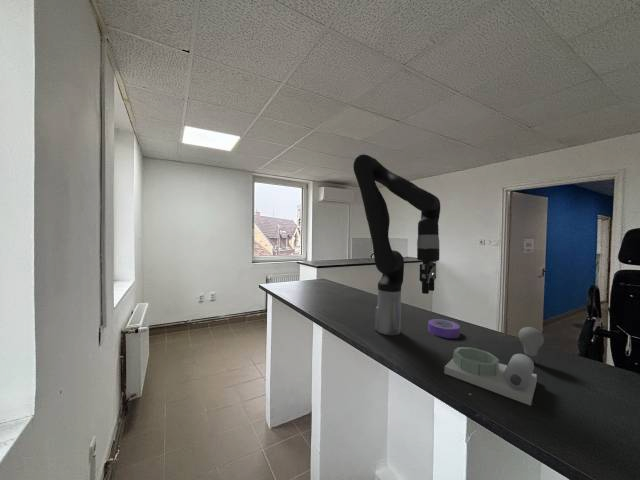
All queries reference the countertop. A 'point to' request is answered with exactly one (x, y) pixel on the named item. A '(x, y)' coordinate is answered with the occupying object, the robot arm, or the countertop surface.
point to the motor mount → (495, 373)
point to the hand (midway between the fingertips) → (428, 292)
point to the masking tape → (444, 328)
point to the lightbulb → (531, 341)
